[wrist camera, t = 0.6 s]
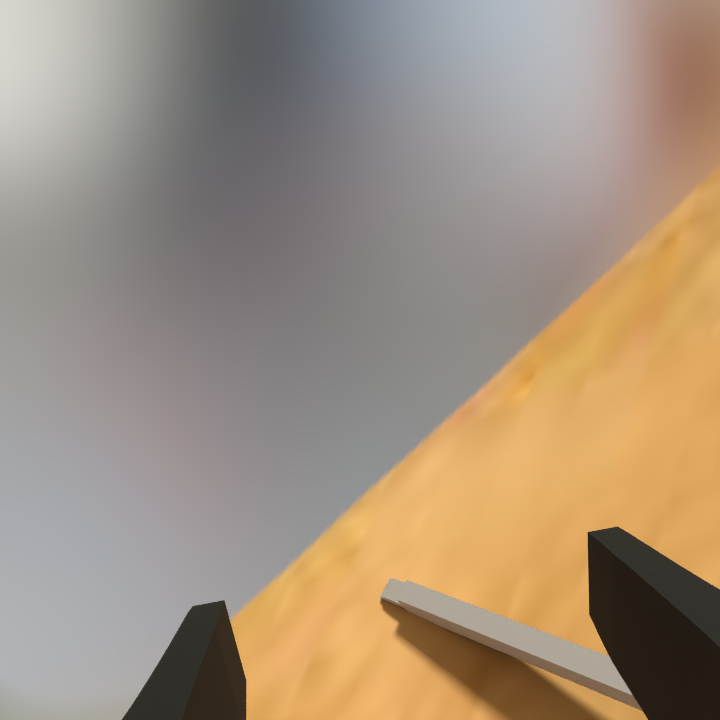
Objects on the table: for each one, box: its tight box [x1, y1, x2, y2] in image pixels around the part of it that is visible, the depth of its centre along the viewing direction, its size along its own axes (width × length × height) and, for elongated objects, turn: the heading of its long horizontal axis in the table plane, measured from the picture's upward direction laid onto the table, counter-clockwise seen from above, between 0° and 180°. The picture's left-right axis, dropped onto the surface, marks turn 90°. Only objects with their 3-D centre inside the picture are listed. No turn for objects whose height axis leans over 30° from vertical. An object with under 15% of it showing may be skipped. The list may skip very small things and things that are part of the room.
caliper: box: [381, 578, 643, 711], centre depth 23 cm, size 20×1×6 cm, turn 59°
